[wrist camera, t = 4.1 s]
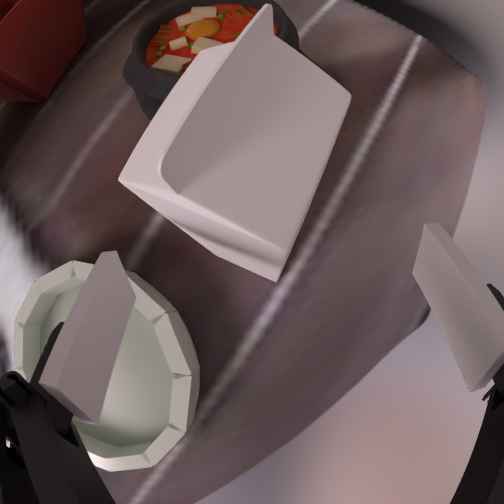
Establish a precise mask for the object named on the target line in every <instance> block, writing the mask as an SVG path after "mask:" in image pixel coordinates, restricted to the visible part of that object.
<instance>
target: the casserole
mask: <svg viewBox="0 0 504 504" xmlns="http://www.w3.org/2000/svg"><path fill="white" fill-rule="evenodd" d="M265 4H271V5H272V8H273V31H274V35H275V36H276V37H278V38H279V39H281V40H282V41H284V42H285V43H287V44H288V45H289V46H291V47H292V48H294V49H295V50H296V51H298V52H299V53H301V54H302V55H303V56H305V57H306V58H307V59H309V60H310V61H311V62H313V63H314V64H315V65H316V66H318V65H317V64H316V63H315V62H314V61H312V60H311V59H310V58H309V57H307V56H306V55H305V54H304V53H303V52H302V51H301V50H300V49H299V36H298V33H297V30H296V27H295V26H294V24H293V23H292V21H291V20H290V19H289V18H288V17H287V16H286V14H285V12H284V11H283V10H282V8H281V7H280V6H279V5H278V4H276V3H275V2H274V1H273V0H175V1H173V2H171V3H169V4H168V5H166V6H164V7H162V8H161V9H160V10H158V11H157V12H155V13H154V14H153V15H152V16H151V17H150V18H149V19H147V20H146V21H145V23H144V24H143V25H142V26H141V28H140V29H139V30H138V32H137V34H136V36H135V38H134V42H133V46H132V53H131V55H130V56H129V57H128V59H127V61H126V63H125V65H124V68H123V77H124V78H125V79H126V81H127V82H128V84H129V85H130V86H131V87H132V88H133V89H134V91H135V93H136V96H137V98H138V101H139V103H140V105H141V108H142V110H143V112H144V113H145V114H146V115H147V116H148V118H149V119H150V120H151V121H152V119H153V118H154V116H155V114H156V113H157V111H158V110H159V108H160V107H161V105H162V104H163V102H164V101H165V99H166V98H167V96H168V95H169V93H170V92H171V90H172V89H173V88H174V86H175V85H176V83H177V82H178V80H179V79H180V78H181V76H182V75H183V73H184V72H185V71H186V69H187V68H188V67H189V65H190V64H191V63H192V61H193V60H194V59H195V57H196V56H197V55H198V54H199V52H200V51H202V50H204V49H207V48H211V47H214V46H218V45H222V44H226V43H230V42H234V41H235V40H236V39H237V38H238V36H239V35H240V34H241V33H242V31H243V30H244V29H245V28H246V26H247V25H248V24H249V23H250V21H251V20H252V19H253V18H254V16H255V15H256V14H257V13H258V12H259V10H260V9H261V8H262V7H263V6H264V5H265ZM318 67H319V68H320V69H322V68H321V67H320V66H318ZM322 70H323V69H322ZM323 71H324V70H323ZM324 72H325V71H324ZM325 73H326V72H325Z"/></svg>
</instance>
